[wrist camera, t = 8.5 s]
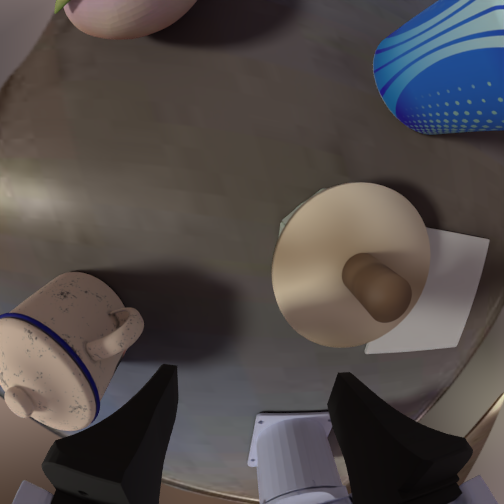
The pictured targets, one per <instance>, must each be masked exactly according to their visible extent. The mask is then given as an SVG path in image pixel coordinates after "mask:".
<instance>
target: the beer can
mask: <svg viewBox="0 0 504 504" xmlns="http://www.w3.org/2000/svg"><path fill="white" fill-rule="evenodd" d="M373 73H374V79H375V82H376V86H377V88H378V91H379V93H380V95H381V97H382V99H383V101H384V103H385V104H386V106H387V107H388V108H389V110H390V111H391V112H392V113H393V115H394V116H395V117H396V118H397V119H398V120H399V121H401V122H402V123H403V124H404V125H406V126H407V127H409V128H410V129H412V130H414V131H417V132H419V133H423V134H428V135H435V134H447V133H459V132H475V131H498V130H504V0H438V1H437V2H435V3H434V4H432V5H431V6H430V7H428V8H427V9H425V10H424V11H422V12H421V13H419V14H418V15H417V16H415V17H414V18H412V19H411V20H410V21H408V22H407V23H405V24H404V25H403V26H401V27H400V28H399V29H397V30H396V31H394V32H393V33H392V34H390V35H389V36H388V37H386V38H385V39H384V40H383V41H382V42H381V43H380V44H379V46H378V47H377V49H376V52H375V55H374V59H373Z"/></svg>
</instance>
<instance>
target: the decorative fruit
mask: <svg viewBox="0 0 504 504" xmlns="http://www.w3.org/2000/svg"><path fill="white" fill-rule="evenodd" d="M196 1H197V0H56V4H55V14H56V13H57V12H59V11H60V10H61V9H62V8H63V7H64V10H65V13H66V14H67V16H68V18H69V19H70V21H71V22H72V23H73V24H74V25H75V26H76V27H77V28H78V29H79V30H81V31H82V32H84V33H86V34H89V35H91V36H95V37H99V38H104V39H134V38H139V37H143V36H147V35H150V34H152V33H155V32H158V31H160V30H162V29H164V28H166V27H168V26H170V25H171V24H173V23H174V22H176V21H177V20H178V19H180V18H181V17H182V16H183V15H184V14H185V13H186V12H187V11H188V10H189V9H190V8H191V7H192V6H193V5H194V4H195V3H196Z"/></svg>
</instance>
